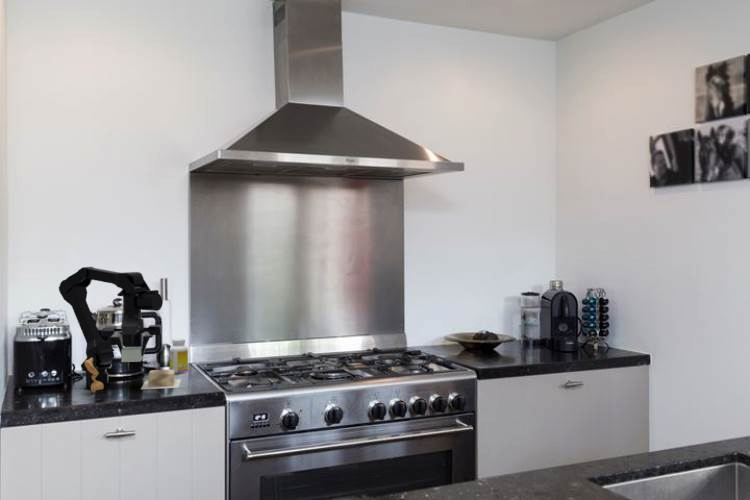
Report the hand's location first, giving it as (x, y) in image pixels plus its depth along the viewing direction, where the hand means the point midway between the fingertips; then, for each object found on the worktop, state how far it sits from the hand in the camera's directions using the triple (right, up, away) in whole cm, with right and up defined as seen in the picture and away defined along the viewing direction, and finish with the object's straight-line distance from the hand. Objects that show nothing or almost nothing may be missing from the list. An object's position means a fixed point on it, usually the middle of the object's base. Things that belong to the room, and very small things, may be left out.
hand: (132, 356), depth 241 cm
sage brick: (0, -1, 0) cm, 1 cm away
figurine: (-11, -12, -4) cm, 17 cm away
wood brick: (+9, -10, +4) cm, 14 cm away
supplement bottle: (+7, -11, +30) cm, 33 cm away
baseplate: (+9, -12, +4) cm, 15 cm away
